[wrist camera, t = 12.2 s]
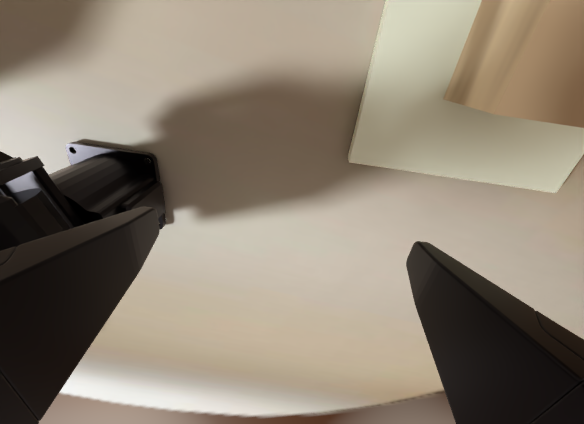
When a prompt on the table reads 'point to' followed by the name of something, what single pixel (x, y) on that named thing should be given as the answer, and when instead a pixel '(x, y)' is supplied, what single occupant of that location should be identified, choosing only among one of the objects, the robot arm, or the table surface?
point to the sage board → (448, 109)
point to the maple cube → (524, 61)
